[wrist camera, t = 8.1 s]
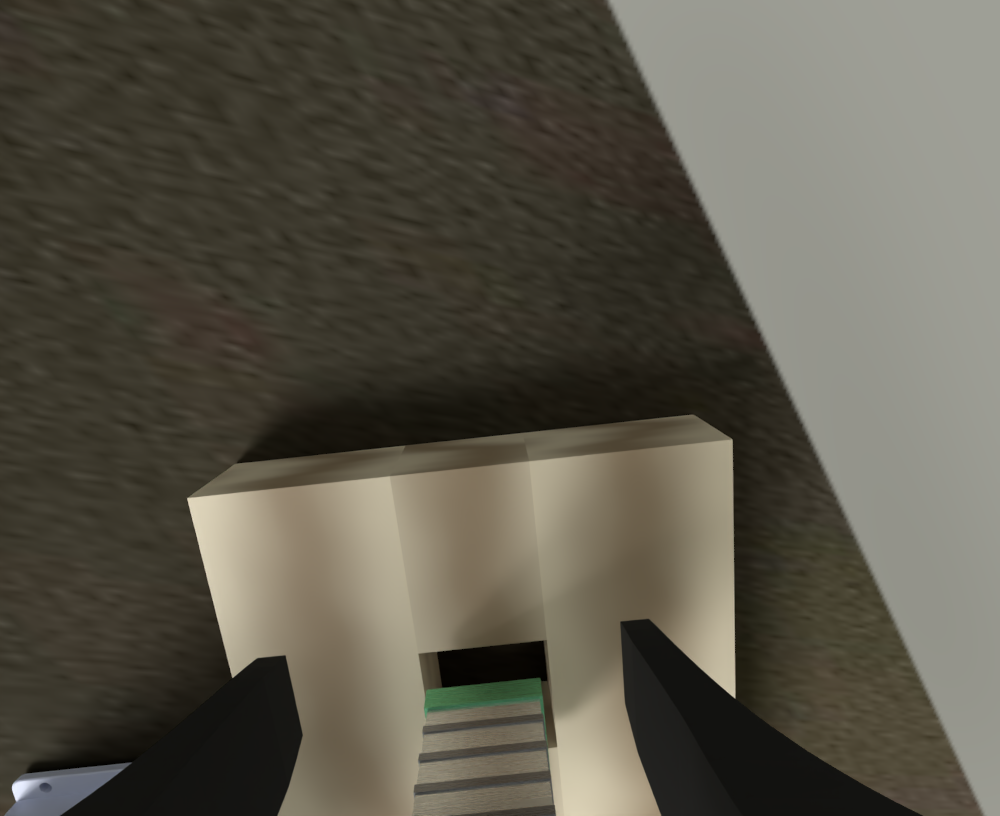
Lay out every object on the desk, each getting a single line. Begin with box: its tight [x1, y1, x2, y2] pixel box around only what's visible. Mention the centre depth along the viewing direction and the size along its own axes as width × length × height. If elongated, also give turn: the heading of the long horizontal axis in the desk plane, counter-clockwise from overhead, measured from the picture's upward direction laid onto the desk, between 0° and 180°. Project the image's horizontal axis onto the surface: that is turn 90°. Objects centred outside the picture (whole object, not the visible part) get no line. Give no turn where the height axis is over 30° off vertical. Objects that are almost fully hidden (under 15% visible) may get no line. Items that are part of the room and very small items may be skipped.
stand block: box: [187, 415, 735, 816], centre depth 21 cm, size 18×18×4 cm
